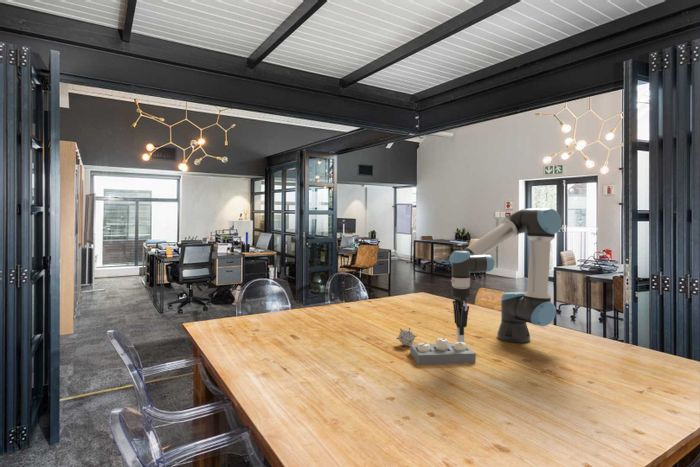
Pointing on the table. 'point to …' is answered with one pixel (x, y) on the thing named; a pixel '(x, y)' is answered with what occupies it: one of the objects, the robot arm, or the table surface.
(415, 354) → the button board
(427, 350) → the button
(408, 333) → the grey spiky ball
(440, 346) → the button
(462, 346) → the button
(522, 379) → the table surface
